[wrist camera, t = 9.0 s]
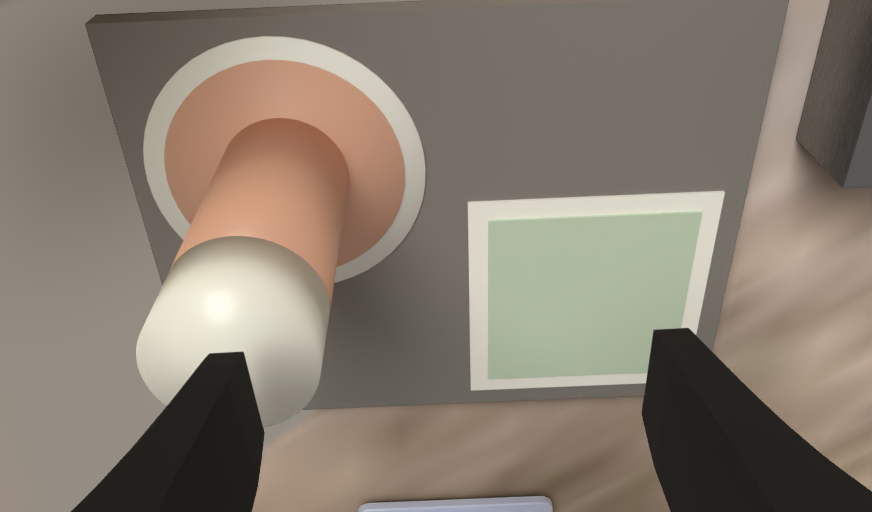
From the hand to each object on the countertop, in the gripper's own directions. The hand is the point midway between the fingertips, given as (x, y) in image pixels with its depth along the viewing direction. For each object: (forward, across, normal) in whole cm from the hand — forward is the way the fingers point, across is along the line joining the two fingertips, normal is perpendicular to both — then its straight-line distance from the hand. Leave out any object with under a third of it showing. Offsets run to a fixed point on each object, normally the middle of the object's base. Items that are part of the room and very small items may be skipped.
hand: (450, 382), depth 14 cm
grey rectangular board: (+10, 0, +3) cm, 11 cm away
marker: (+9, +4, +1) cm, 10 cm away
